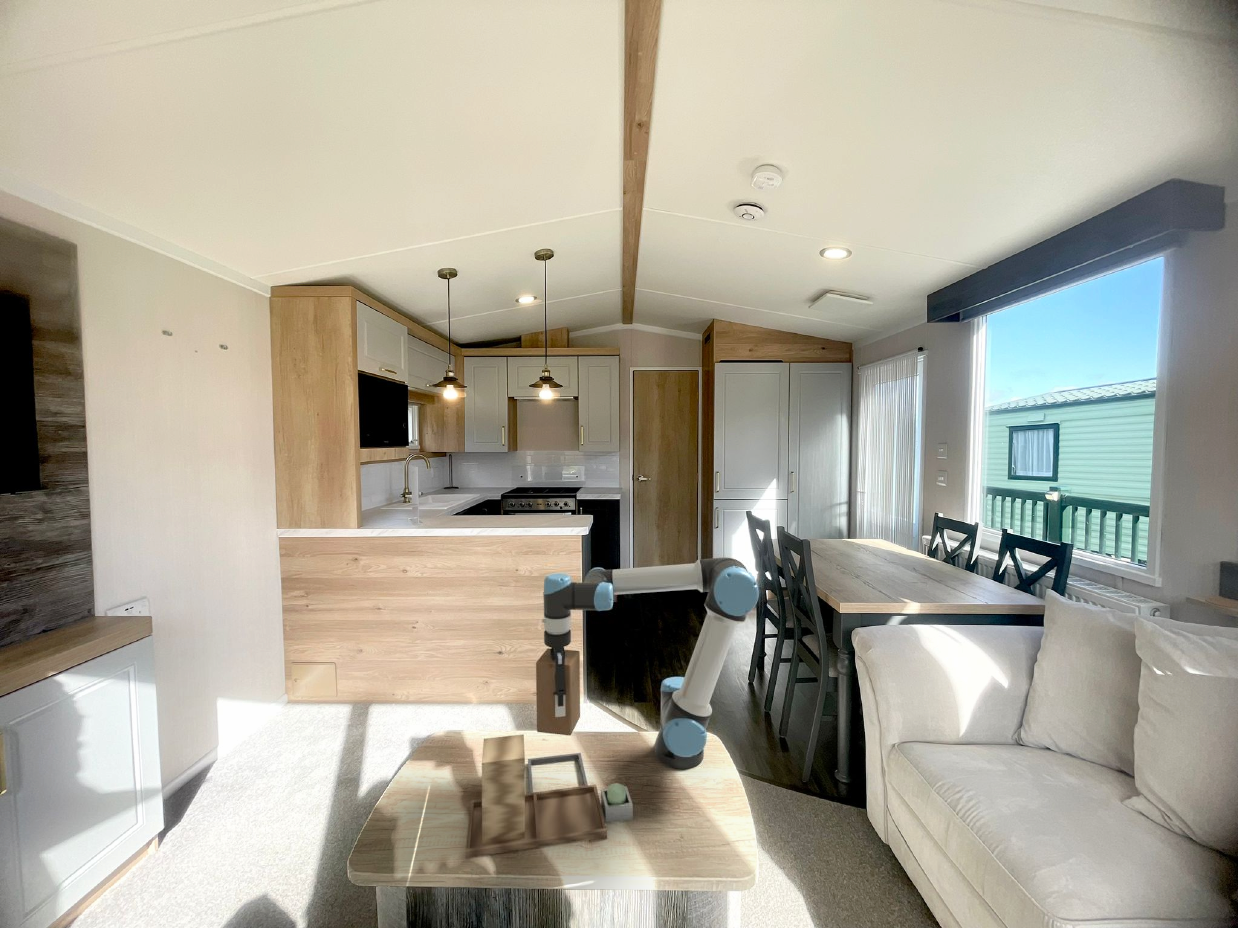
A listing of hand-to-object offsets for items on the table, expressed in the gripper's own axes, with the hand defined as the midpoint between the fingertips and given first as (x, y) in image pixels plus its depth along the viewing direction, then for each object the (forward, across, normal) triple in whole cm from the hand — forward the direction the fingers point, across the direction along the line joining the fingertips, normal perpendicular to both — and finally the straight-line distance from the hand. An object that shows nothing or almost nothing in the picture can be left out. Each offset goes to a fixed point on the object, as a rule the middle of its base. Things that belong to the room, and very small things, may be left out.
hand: (558, 703), depth 148 cm
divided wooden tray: (+22, +16, -7) cm, 28 cm away
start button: (+19, +16, +14) cm, 29 cm away
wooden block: (+6, 0, 0) cm, 6 cm away
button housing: (+22, +16, +14) cm, 31 cm away
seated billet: (+21, +16, -15) cm, 31 cm away
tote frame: (+22, 0, 0) cm, 22 cm away
